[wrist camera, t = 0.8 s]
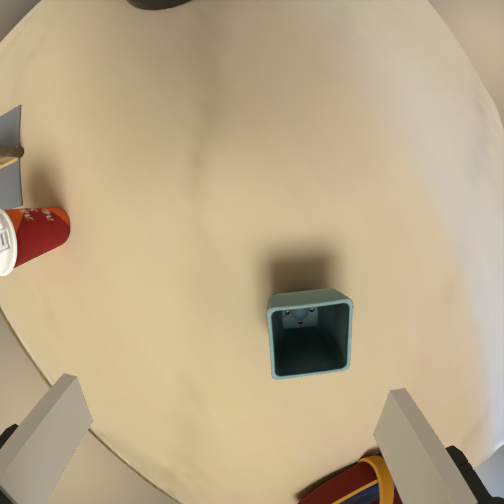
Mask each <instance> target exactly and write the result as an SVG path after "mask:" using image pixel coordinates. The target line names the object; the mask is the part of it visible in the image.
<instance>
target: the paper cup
mask: <svg viewBox="0 0 504 504" xmlns="http://www.w3.org/2000/svg"><path fill="white" fill-rule="evenodd" d="M69 234H70V221H69V218H68V216H67V214H66V213H65V212H64V211H63V210H62V209H60V208H54V207H48V208H25V209H8V210H2V209H0V275H1V276H5V275H8V274H9V273H10V272H11V271H12V269H13V268H15V267H17V266H19V265H21V264H23V263H25V262H27V261H29V260H31V259H33V258H35V257H38V256H40V255H42V254H44V253H46V252H48V251H50V250H52V249H54V248H56V247H58V246H60V245H62V244H63V243H65V242H66V241H67V239H68V237H69Z"/></svg>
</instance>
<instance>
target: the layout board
mask: <svg viewBox="0 0 504 504" xmlns="http://www.w3.org/2000/svg"><path fill="white" fill-rule="evenodd" d="M20 116H21V105H19V106H18V107H16V108H14V109H12V110H11V111H9V112H7V113H6V114H4V115H2V116H1V117H0V145H1V146H11V147H20ZM22 205H23V203H22V192H21V177H20V158H19V157H18V158H16V159H13V160H11V161H9V162H7V163H5V164H3V165H1V166H0V209H2V210H8V209H12V208H15V207H19V206H22Z"/></svg>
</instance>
